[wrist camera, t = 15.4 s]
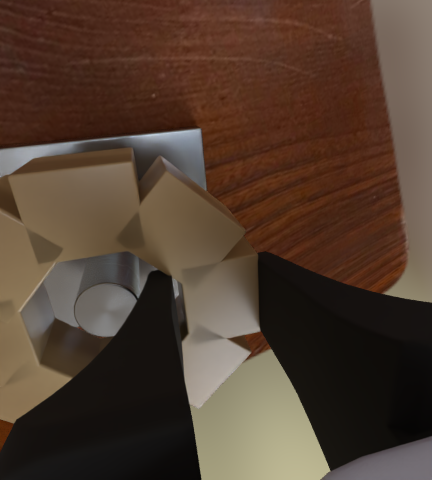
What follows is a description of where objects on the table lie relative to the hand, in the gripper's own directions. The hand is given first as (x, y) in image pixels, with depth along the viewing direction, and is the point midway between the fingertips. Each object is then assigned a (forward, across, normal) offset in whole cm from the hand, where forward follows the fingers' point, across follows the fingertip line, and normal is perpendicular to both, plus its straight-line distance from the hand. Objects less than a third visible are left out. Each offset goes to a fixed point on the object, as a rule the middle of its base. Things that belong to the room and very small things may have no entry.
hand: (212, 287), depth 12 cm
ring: (+1, +3, 0) cm, 4 cm away
